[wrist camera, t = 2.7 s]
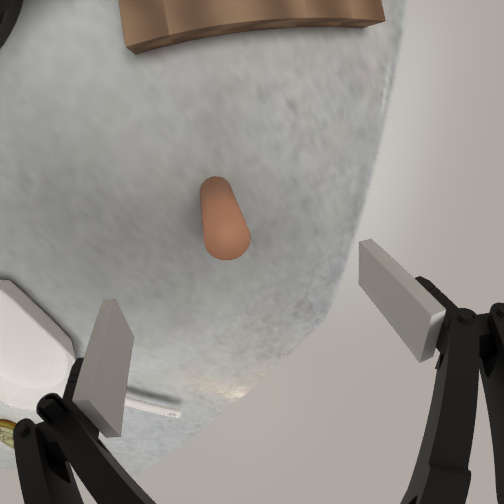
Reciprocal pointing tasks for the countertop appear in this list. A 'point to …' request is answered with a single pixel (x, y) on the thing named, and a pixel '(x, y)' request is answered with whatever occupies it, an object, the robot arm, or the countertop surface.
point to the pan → (38, 355)
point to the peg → (222, 220)
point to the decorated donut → (7, 432)
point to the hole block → (234, 18)
